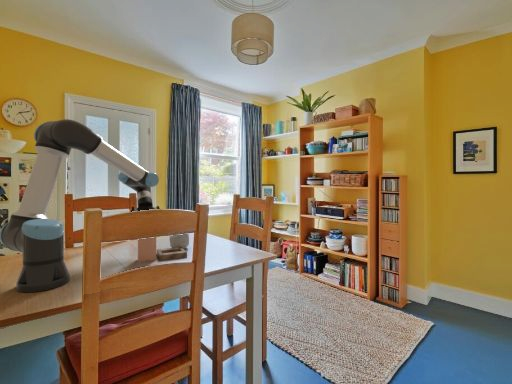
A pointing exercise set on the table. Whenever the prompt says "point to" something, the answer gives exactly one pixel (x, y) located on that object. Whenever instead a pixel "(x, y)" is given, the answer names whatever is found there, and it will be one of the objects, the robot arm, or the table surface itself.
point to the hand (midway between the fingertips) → (148, 232)
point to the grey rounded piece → (179, 241)
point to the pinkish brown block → (147, 249)
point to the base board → (171, 253)
